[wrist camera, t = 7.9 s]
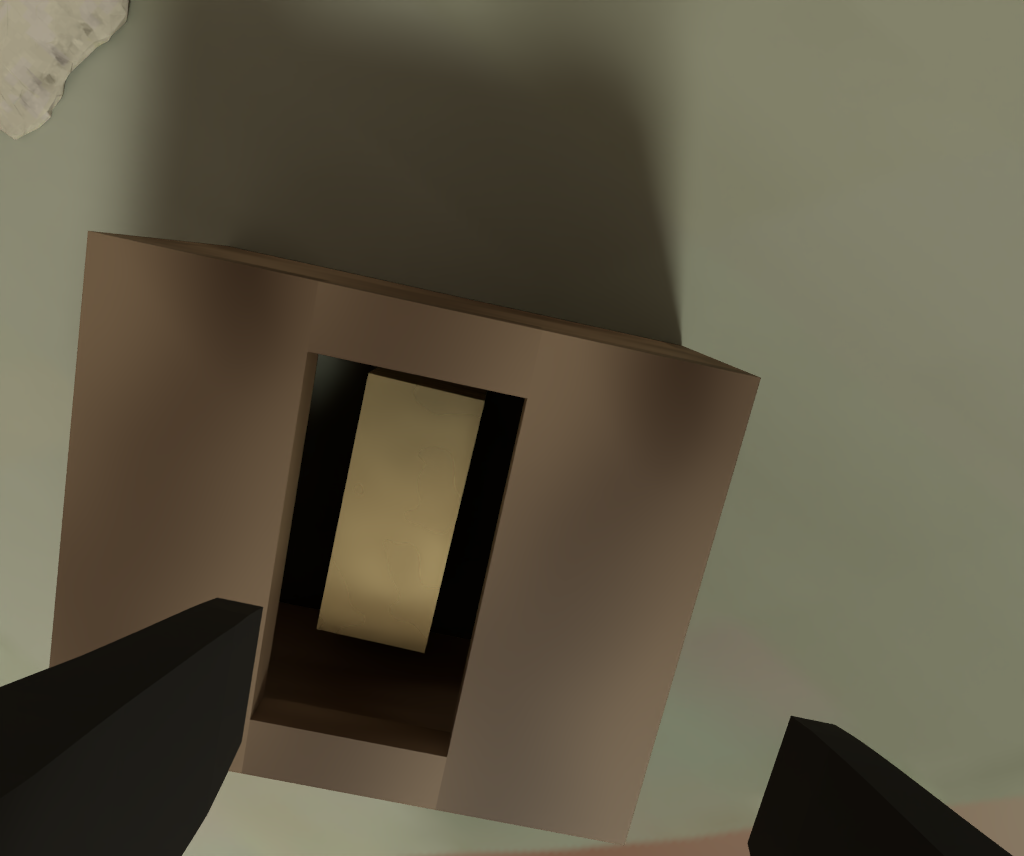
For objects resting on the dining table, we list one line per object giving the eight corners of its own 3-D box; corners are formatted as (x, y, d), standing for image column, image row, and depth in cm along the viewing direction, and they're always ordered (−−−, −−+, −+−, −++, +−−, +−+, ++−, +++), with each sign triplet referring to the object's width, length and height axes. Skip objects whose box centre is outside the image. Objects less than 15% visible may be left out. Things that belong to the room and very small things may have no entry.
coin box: (682, 345, 19) (760, 378, 13) (592, 683, 21) (624, 845, 15) (226, 245, 18) (88, 231, 12) (180, 602, 20) (43, 736, 14)
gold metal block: (490, 375, 19) (484, 401, 15) (442, 579, 20) (424, 652, 16) (398, 352, 19) (368, 373, 15) (355, 559, 20) (316, 628, 16)
